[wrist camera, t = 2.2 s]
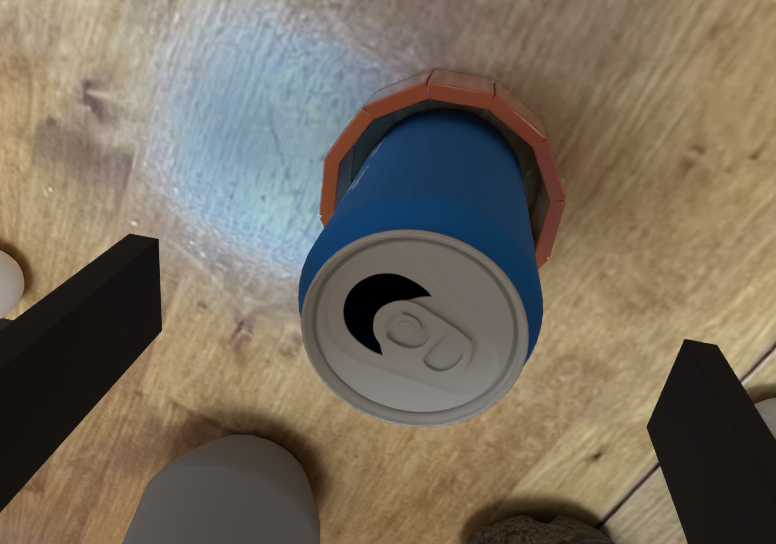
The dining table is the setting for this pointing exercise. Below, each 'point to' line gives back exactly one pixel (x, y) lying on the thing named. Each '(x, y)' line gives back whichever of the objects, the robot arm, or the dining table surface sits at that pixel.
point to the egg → (9, 283)
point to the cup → (228, 497)
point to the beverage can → (425, 276)
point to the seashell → (539, 532)
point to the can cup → (462, 93)
